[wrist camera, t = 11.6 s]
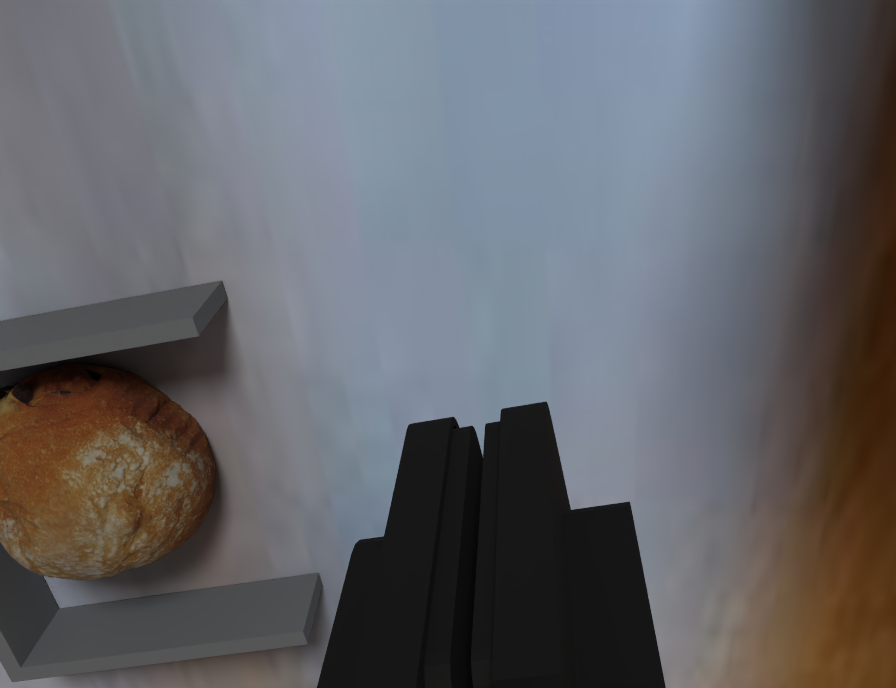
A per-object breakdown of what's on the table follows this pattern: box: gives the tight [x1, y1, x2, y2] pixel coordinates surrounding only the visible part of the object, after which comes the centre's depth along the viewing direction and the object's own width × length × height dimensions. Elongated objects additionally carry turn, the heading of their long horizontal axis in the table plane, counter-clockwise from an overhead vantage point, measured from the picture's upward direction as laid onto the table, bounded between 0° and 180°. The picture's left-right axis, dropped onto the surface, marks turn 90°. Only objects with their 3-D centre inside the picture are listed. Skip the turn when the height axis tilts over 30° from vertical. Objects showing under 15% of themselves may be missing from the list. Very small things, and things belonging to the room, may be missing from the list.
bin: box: [0, 281, 323, 682], centre depth 38 cm, size 15×17×4 cm
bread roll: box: [0, 363, 215, 580], centre depth 38 cm, size 10×10×8 cm
